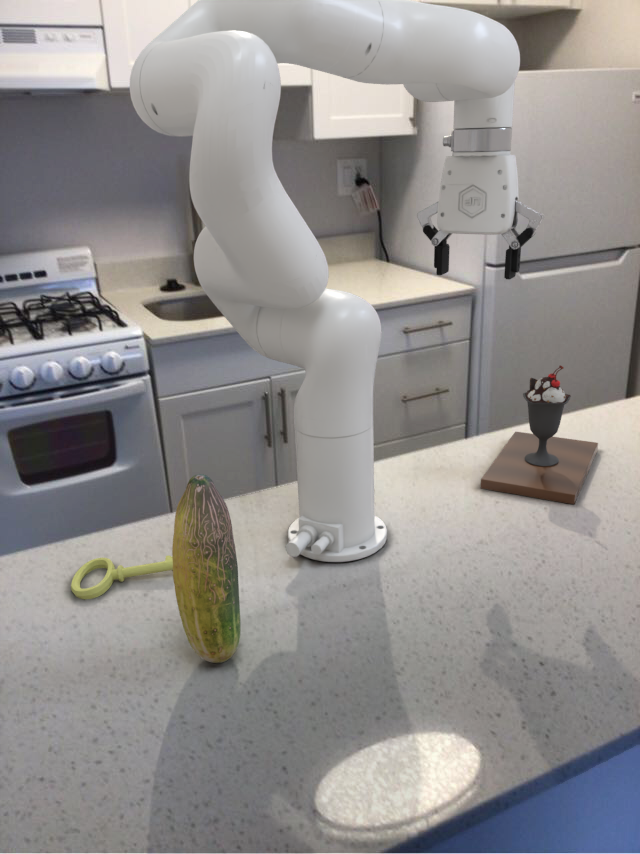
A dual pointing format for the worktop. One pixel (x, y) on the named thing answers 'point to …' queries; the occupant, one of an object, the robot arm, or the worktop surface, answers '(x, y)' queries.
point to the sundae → (545, 415)
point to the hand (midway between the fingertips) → (475, 275)
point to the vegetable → (206, 571)
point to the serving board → (541, 468)
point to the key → (113, 575)
